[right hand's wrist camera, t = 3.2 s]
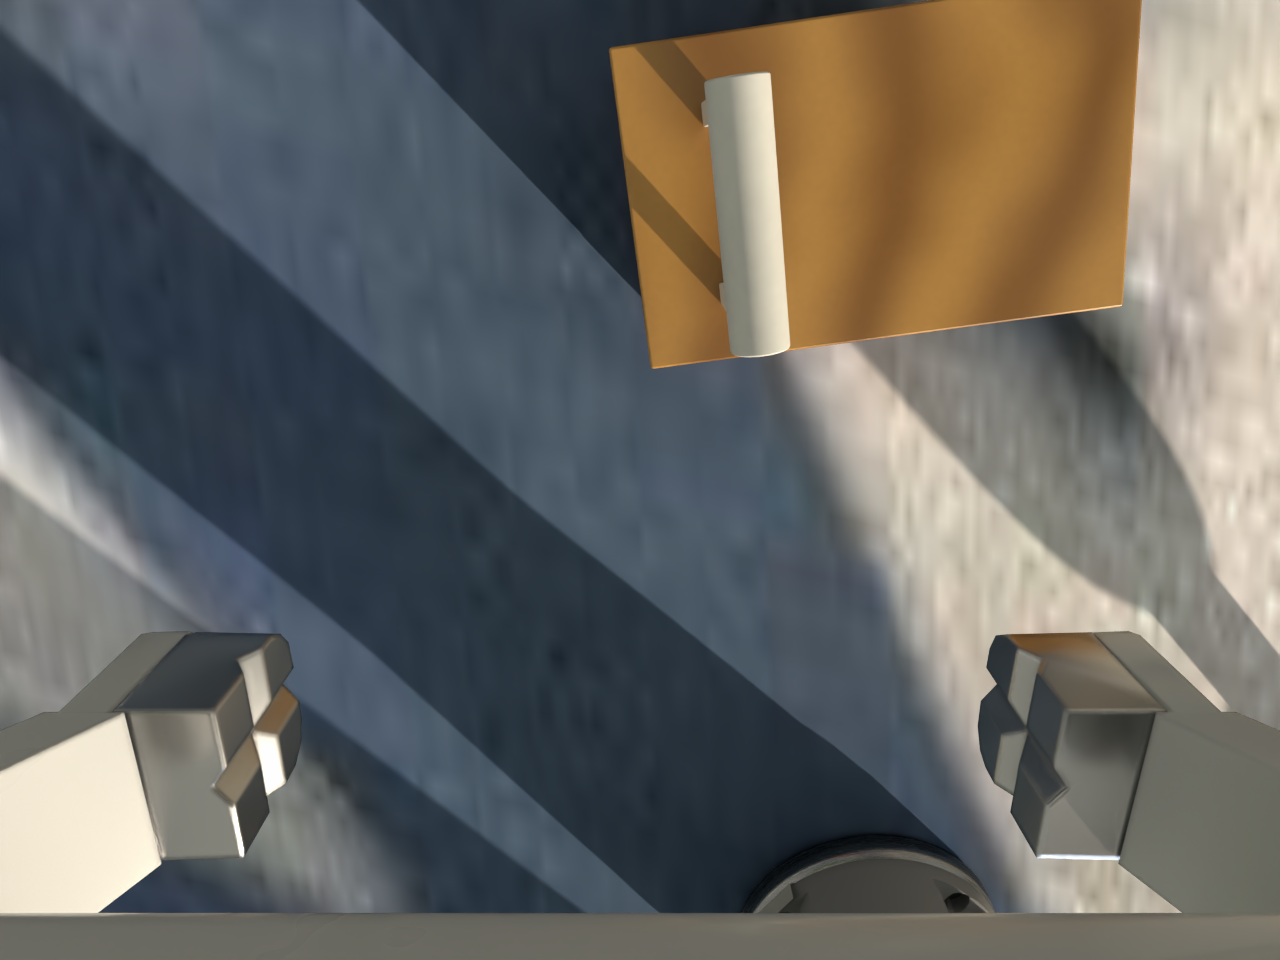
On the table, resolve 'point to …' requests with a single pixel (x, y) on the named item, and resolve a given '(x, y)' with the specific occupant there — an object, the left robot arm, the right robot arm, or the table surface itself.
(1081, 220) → the lid
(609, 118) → the table surface
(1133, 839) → the right robot arm
